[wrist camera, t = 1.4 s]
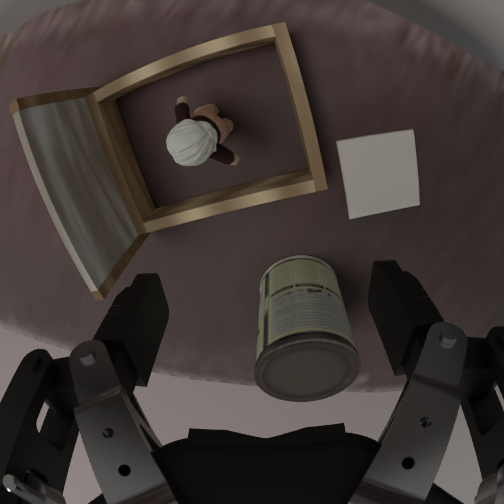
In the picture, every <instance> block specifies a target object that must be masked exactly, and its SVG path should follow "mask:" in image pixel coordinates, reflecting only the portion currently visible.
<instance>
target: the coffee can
mask: <svg viewBox="0 0 504 504" xmlns="http://www.w3.org/2000/svg"><path fill="white" fill-rule="evenodd" d="M257 342H258V343H257V359H256V364H255V369H254V379H255V381H256V384H257V385H258V386H259V387H260V388H261V389H262V390H263V391H264V392H265V393H267V394H268V395H270V396H272V397H275V398H277V399H281V400H286V401H293V402H309V401H316V400H320V399H324V398H327V397H330V396H333V395H335V394H337V393H339V392H341V391H343V390H344V389H345V388H347V387H348V386H349V385H350V384H352V382H353V381H354V380H355V379H356V377H357V376H358V374H359V371H360V367H361V362H360V357H359V354H358V352H357V350H356V347H355V343H354V339H353V335H352V331H351V327H350V324H349V321H348V317H347V314H346V310H345V306H344V303H343V300H342V296H341V293H340V289H339V286H338V282H337V277H336V274H335V272H334V271H333V269H332V268H331V267H330V266H329V265H328V264H327V263H326V262H324V261H323V260H321V259H319V258H316V257H313V256H307V255H295V256H290V257H286V258H283V259H281V260H279V261H278V262H276V263H274V264H273V265H271V266H270V267H269V268H268V269H267V271H266V272H265V273H264V275H263V277H262V279H261V283H260V306H259V326H258V339H257Z"/></svg>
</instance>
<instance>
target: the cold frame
mask: <svg viewBox="0 0 504 504" xmlns="http://www.w3.org/2000/svg"><path fill="white" fill-rule="evenodd" d="M274 43H275V46H276V49H277V53H278V56H279V59H280V63H281V66H282V69H283V73H284V76H285V80H286V83H287V87H288V90H289V94H290V98H291V101H292V105H293V109H294V113H295V116H296V120H297V124H298V128H299V132H300V136H301V140H302V144H303V149H304V153H305V157H306V162H307V166H308V170H303V171H298V172H294V173H289V174H285V175H280V176H276V177H272V178H268V179H263V180H259V181H255V182H251V183H247V184H243V185H239V186H235V187H231V188H227V189H223V190H220V191H216V192H212V193H208V194H205V195H201V196H198V197H194V198H190V199H187V200H183V201H180V202H177V203H173V204H170V205H166V206H163V207H160V208H156V209H155V206H154V204H153V201H152V199H151V196H150V194H149V191H148V189H147V186H146V184H145V181H144V179H143V176H142V173H141V171H140V168H139V166H138V163H137V160H136V158H135V155H134V152H133V149H132V147H131V144H130V141H129V138H128V136H127V133H126V130H125V127H124V124H123V121H122V118H121V115H120V112H119V109H118V106H117V103H116V100H115V99H117V98H119V97H121V96H123V95H125V94H127V93H129V92H131V91H134V90H136V89H138V88H140V87H142V86H145V85H147V84H149V83H152V82H154V81H156V80H159V79H161V78H164V77H166V76H169V75H171V74H174V73H176V72H179V71H182V70H184V69H187V68H190V67H193V66H196V65H198V64H201V63H204V62H207V61H211V60H214V59H217V58H220V57H223V56H227V55H230V54H234V53H237V52H241V51H245V50H249V49H252V48H257V47H261V46H265V45H269V44H274ZM9 106H10V110H11V113H12V116H13V117H14V121H15V124H16V127H17V131H18V134H19V137H20V140H21V143H22V146H23V149H24V152H25V155H26V157H27V160H28V163H29V166H30V168H31V171H32V173H33V176H34V178H35V181H36V183H37V186H38V188H39V191H40V193H41V195H42V198H43V200H44V202H45V205H46V207H47V209H48V211H49V213H50V216H51V218H52V220H53V222H54V224H55V226H56V228H57V230H58V232H59V234H60V236H61V238H62V240H63V242H64V244H65V246H66V248H67V250H68V252H69V254H70V255H71V257H72V259H73V261H74V263H75V265H76V266H77V268H78V270H79V272H80V273H81V275H82V277H83V279H84V280H85V282H86V284H87V285H88V287H89V289H90V290H91V293H92V295H93V297H94V298H95V300H96V301H97V300H103V299H105V297H106V296H107V294H108V293H109V291H110V290H111V288H112V287H113V285H114V284H115V282H116V281H117V279H118V278H119V276H120V275H121V273H122V272H123V270H124V269H125V267H126V266H127V265H128V263H129V262H130V260H131V259H132V257H133V256H134V255H135V253H136V252H137V250H138V249H139V248H140V246H141V245H142V244H143V242H144V241H145V239H146V238H147V237H148V235H149V234H150V233H151V232H152V231H156V230H160V229H163V228H167V227H171V226H174V225H178V224H182V223H186V222H190V221H193V220H197V219H201V218H205V217H209V216H213V215H217V214H221V213H225V212H229V211H233V210H237V209H242V208H246V207H250V206H254V205H258V204H263V203H267V202H271V201H276V200H280V199H285V198H289V197H294V196H298V195H303V194H308V193H312V192H317V191H322V190H327V189H328V188H327V183H326V178H325V173H324V168H323V163H322V158H321V153H320V149H319V144H318V140H317V135H316V131H315V127H314V123H313V119H312V114H311V110H310V106H309V103H308V99H307V95H306V91H305V87H304V84H303V80H302V76H301V73H300V69H299V66H298V62H297V59H296V56H295V52H294V49H293V46H292V43H291V39H290V36H289V33H288V30H287V27H286V24H285V22H283V23H278V24H273V25H268V26H264V27H260V28H255V29H251V30H247V31H243V32H240V33H236V34H232V35H229V36H225V37H222V38H219V39H215V40H212V41H209V42H206V43H203V44H200V45H197V46H194V47H191V48H189V49H186V50H183V51H181V52H178V53H175V54H173V55H170V56H168V57H165V58H163V59H160V60H158V61H156V62H153V63H151V64H149V65H146V66H144V67H142V68H140V69H138V70H136V71H133V72H131V73H129V74H127V75H125V76H123V77H121V78H119V79H117V80H115V81H113V82H111V83H109V84H108V85H106V86H104V87H93V88H83V89H74V90H66V91H58V92H51V93H45V94H39V95H33V96H28V97H23V98H18V99H16V100H15V101H13V102H12V103H11V104H10V105H9Z"/></svg>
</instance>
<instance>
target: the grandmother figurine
mask: <svg viewBox="0 0 504 504" xmlns="http://www.w3.org/2000/svg"><path fill="white" fill-rule="evenodd" d="M175 114H176V119H177V120H176V121H177V125H176V126H175V127H174V128H173V129H172V130H171V131H170V133H169V134H168V136H167V140H166V143H167V149H168V151H169V153H170V154H171V155H172V157H173V159H174V160H175V162H176V163H178V164H180V165H183V166H195V165H199V164H202V163H203V162H204V161H206V160H207V159H208V158H212V159H215V160H217V161H219V162H222V163H224V164H231V165H236V164H238V162H239V156H238V155H237V154H235V153H233V152H232V151H230V150H229V149H227V148H226V147H224V146H222V145H221V143H222V142H223V141H225V139H226V138H227V136H228V135H229V134H230V132H231V131H232V130H233V127H234V125H233V122H232V121H231V120H230V119H228V118H223V119H221V118H220V117H219V116H218V114H219V110H218V108H217V106H216V105H215V104H207V105H204V106H201V107H199V108H197V109H196V110H195V111H194V113H193V115H192V116H191V117H190V115H189V100H188V98H187V97H185V96H181V97H179V98H178V100H177V105H176V106H175Z"/></svg>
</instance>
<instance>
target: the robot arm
mask: <svg viewBox="0 0 504 504" xmlns="http://www.w3.org/2000/svg"><path fill="white" fill-rule="evenodd" d="M368 305H369V310H370V312H371V315H372V317H373V320H374V322H375V325H376V327H377V330H378V332H379V335H380V337H381V340H382V343H383V345H384V348H385V350H386V353H387V356H388V359H389V361H390V364H391V367H392V370H393V372H394V375H395V376H398V375H403V374H406V376H407V379H408V380H407V382H406V384H405V386H404V389H403V391H402V393H401V396H400V398H399V400H398V402H397V404H396V407H395V408H394V411H393V413H392V415H391V417H390V419H389V421H388V423H387V425H386V427H385V428H384V430H383V432H382V434H381V436H380V437H379V439H378V441H375V440H373V439H371V438H368V437H366V436H362V435H358V434H354V433H346V432H345V426H344V423H340V424H333V425H324V426H315V427H306V428H303V429H299V430H296V431H292V432H289V433H286V434H282V435H279V436H275V437H271V438H260V437H255V436H250V435H245V434H241V433H237V432H232V431H228V430H210V429H209V430H208V429H192V428H190V429H189V434H188V438H185V439H181V440H177V441H174V442H171V443H169V444H166V445H164V446H163V445H162V444H161V443H160V441H159V439H158V438H157V437H156V435H155V433H154V431H153V430H152V428H151V426H150V424H149V422H148V420H147V418H146V417H145V415H144V413H143V411H142V409H141V407H140V405H139V403H138V401H137V399H136V397H135V395H134V394H133V391H134V388H135V386H143V387H147V384H148V381H149V378H150V374H151V371H152V368H153V365H154V362H155V359H156V356H157V353H158V349H159V346H160V343H161V340H162V337H163V334H164V331H165V328H166V325H167V322H168V319H169V308H168V304H167V300H166V297H165V294H164V291H163V287H162V284H161V281H160V278H159V275H158V274H157V273H147V274H137V275H136V277H135V279H134V280H133V282H132V284H131V286H130V287H126V288H125V289H124V290H123V291H121V292H120V293H119V294H118V295H117V296H116V298H115V300H114V302H113V303H112V306H111V307H110V309H109V310H108V314H106V316H105V317H104V319H103V321H102V323H101V325H100V327H99V328H98V330H97V332H96V334H95V336H94V338H93V340H87V341H84V342H82V343H80V344H79V345H77V346H76V347H75V348H74V349H73V350H72V352H71V354H70V356H69V357H65V358H58V359H52V357H51V356H50V354H49V353H48V352H47V351H46V350H44V349H36V350H33V351H31V352H30V353H28V354H27V355H26V356H25V357H24V358H23V360H22V361H21V363H20V365H19V367H18V368H17V370H16V372H15V374H14V376H13V378H12V380H11V382H10V384H9V386H8V388H7V390H6V392H5V394H4V396H3V398H2V400H1V402H0V504H66V501H65V499H64V497H63V490H64V485H65V482H66V477H67V473H68V469H69V466H70V462H71V458H72V454H73V451H74V447H75V444H76V440H77V437H78V433H79V431H80V434H81V437H82V441H83V443H84V447H85V449H86V452H87V455H88V458H89V461H90V463H91V466H92V469H93V471H94V474H95V476H96V479H97V481H98V483H99V486H100V488H101V491H102V494H100V495H99V496H98V497H96V498H95V499H94V500H92V501H91V502H90V503H88V504H464V503H462V502H461V501H459V500H458V499H456V498H455V497H453V496H452V495H450V494H449V493H447V492H446V491H444V490H443V489H442V488H440V487H439V486H437V485H436V484H435V483H433V481H434V479H435V477H436V474H437V472H438V469H439V467H440V465H441V462H442V459H443V457H444V454H445V451H446V449H447V446H448V443H449V440H450V437H451V434H452V431H453V428H454V424H455V421H456V417H457V414H458V410H459V407H460V404H461V407H462V410H463V413H464V416H465V419H466V422H467V425H468V428H469V431H470V435H471V438H472V441H473V445H474V448H475V452H476V455H477V459H478V463H479V467H480V471H481V476H482V480H483V481H482V482H481V484H480V486H479V488H478V492H477V495H476V497H475V499H474V503H475V504H504V411H503V409H502V406H501V403H500V401H499V398H498V396H497V393H496V391H495V389H494V388H495V387H496V386H497V385H498V387H499V389H500V392H501V394H502V396H503V399H504V327H502V326H497V327H493V328H492V329H491V330H490V331H489V333H488V335H487V337H486V338H474V337H467V336H466V334H465V332H464V331H463V330H462V329H461V328H460V327H459V326H457V325H455V324H453V323H450V322H445V321H444V320H443V318H442V316H441V315H440V313H439V311H438V310H437V308H436V307H435V305H434V303H433V302H432V300H431V299H430V297H428V294H427V293H426V291H425V290H424V289H423V287H422V285H421V284H420V282H419V281H418V279H417V278H416V277H414V276H413V275H412V274H410V273H409V272H408V271H404V272H403V271H402V270H401V268H400V267H399V265H398V264H397V262H396V261H395V260H394V259H389V260H376V261H374V263H373V267H372V274H371V280H370V286H369V292H368ZM44 402H45V403H46V404H47V405H48V406H49V409H48V411H47V414H46V417H45V419H44V422H43V425H42V427H41V430H40V433H39V432H38V430H37V426H36V422H37V418H38V416H39V413H40V410H41V408H42V406H43V403H44Z"/></svg>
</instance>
